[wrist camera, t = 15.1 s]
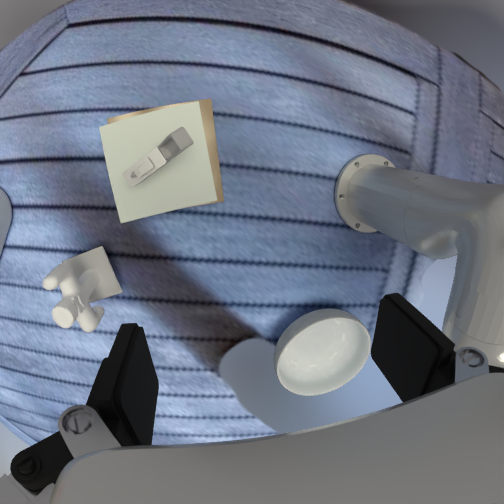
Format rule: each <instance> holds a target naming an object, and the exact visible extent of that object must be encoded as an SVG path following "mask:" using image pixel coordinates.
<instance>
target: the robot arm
mask: <svg viewBox="0 0 504 504" xmlns="http://www.w3.org/2000/svg"><path fill="white" fill-rule="evenodd" d="M354 163H355V165H354ZM339 195H341V196H340V197H339ZM335 204H336V208H337V211H338V213H339V215H340V217H341V218H342V220H343V221H344V222H345V223H346V224H347V225H348V226H350V227H351V228H353V229H354V230H356V231H360V232H363V233H372V232H376V231H380V232H382V233H383V234H385V235H387V236H389V237H391V238H393V239H395V240H396V241H398V242H400V243H402V244H404V245H406V246H407V247H409V248H411V249H413V250H415V251H416V252H418V253H420V254H422V255H424V256H426V257H429V258H432V259H445V258H449V257H452V256H455V255H457V254H458V257H457V263H456V268H455V276H454V280H453V285H452V289H451V293H450V297H449V301H448V305H447V309H446V313H445V317H444V321H443V327H442V331H440V330H439V329H438V328H437V327H436V326H435V325H434V324H433V323H432V322H431V321H430V320H428V319H427V318H426V317H425V316H424V315H423V314H422V313H420V312H419V311H418V310H417V309H416V308H415V307H414V306H413V305H412V304H410V303H409V302H408V301H407V300H406V299H405V298H404V297H402V296H401V295H400V294H399V293H393V294H387V295H385V296H384V297H383V299H381V301H380V305H379V311H378V317H377V322H376V328H375V333H374V338H373V343H372V348H371V357H372V359H373V360H374V362H375V363H376V365H377V366H378V367H379V369H380V370H381V372H382V373H383V374H384V375H385V377H386V379H387V380H388V382H389V383H390V384H391V386H392V387H393V389H394V390H395V392H396V393H397V394H398V396H399V397H400V399H401V400H402V402H403V403H401V404H398V405H395V406H392V407H389V408H386V409H382V410H379V411H376V412H373V413H370V414H366V415H363V416H359V417H355V418H352V419H348V420H344V421H340V422H336V423H332V424H328V425H324V426H319V427H315V428H310V429H306V430H300V431H295V432H290V433H284V434H278V435H272V436H265V437H258V438H250V439H242V440H233V441H223V442H210V443H195V444H174V445H152V436H153V427H154V419H155V411H156V404H157V396H158V389H159V383H158V378H157V375H156V372H155V368H154V365H153V362H152V358H151V355H150V351H149V348H148V344H147V341H146V337H145V333H144V330H143V327H138V325H137V323H127V324H122V325H121V327H120V329H119V332H118V334H117V336H116V339H115V341H114V344H113V346H112V349H111V351H110V354H109V356H108V358H104V359H103V361H102V363H101V366H100V368H99V371H98V374H97V376H96V379H95V381H94V384H93V387H92V389H91V392H90V395H89V398H88V400H87V403H86V405H75V406H72V407H70V408H68V409H66V410H65V411H64V412H63V413H62V414H61V415H60V417H59V419H58V428H59V431H58V432H56V433H54V434H53V435H51V436H49V437H47V438H45V439H43V440H42V441H40V442H38V443H36V444H34V445H32V446H30V447H29V448H27V449H25V450H23V451H21V452H19V453H18V454H17V455H16V456H15V457H14V458H13V460H12V463H11V468H10V469H11V474H10V475H9V476H7V475H6V474H4V475H3V476H2V477H1V478H0V504H504V184H487V183H476V182H467V181H462V180H456V179H451V178H446V177H442V176H436V175H432V174H427V173H422V172H417V171H411V170H406V169H401V168H396V167H395V166H394V164H392V163H391V162H390V161H389V160H388V159H386V158H385V157H383V156H380V155H376V154H364V155H359V156H357V157H355V158H353V159H352V160H351V161H349V162H348V163H347V164H346V165H345V166H344V168H343V169H342V171H341V172H340V174H339V176H338V179H337V182H336V186H335Z"/></svg>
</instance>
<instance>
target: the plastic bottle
mask: <svg viewBox="0 0 504 504" xmlns="http://www.w3.org/2000/svg"><path fill="white" fill-rule="evenodd" d="M11 220H12V208H11V204H10V201H9V198H8V196H7V195H6V193H5V192H4V191H3V190H2V189H0V257H1V253H2V250H3V246H4V243H5V239H6V236H7V233H8V230H9V227H10V224H11Z"/></svg>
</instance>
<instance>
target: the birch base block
mask: <svg viewBox="0 0 504 504" xmlns="http://www.w3.org/2000/svg"><path fill="white" fill-rule="evenodd" d="M198 101H199V106H200V111H201V117H202V122H203V128H204V133H205V139H206V144H207V149H208V154H209V160H210V165H211V170H212V175H213V180H214V186H215V191H216V196H217V201H213V202H208V203H203V204H199V205H204V204H211V203H217V202H223V201H224V197H223V190H222V182H221V175H220V167H219V159H218V151H217V143H216V135H215V127H214V119H213V111H212V102H211V99H205V100H198ZM191 102H196V101H191ZM191 102H184V103H178V104H172V105H167V106H161V107H156V108H151V109H146V110H142V111H137V112H133V113H128V114H124V115H120V116H116V117H112V118H108V119H107V120H108V124H111V123H114V122H117V121H120V120H124V119H127V118H130V117H134V116H137V115H141V114H145V113H149V112H152V111H156V110H160V109H164V108H169V107H173V106H177V105H182V104H187V103H191ZM194 206H198V205H194ZM190 207H192V206H190Z"/></svg>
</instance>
